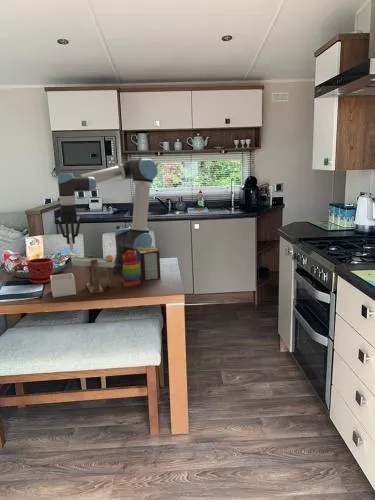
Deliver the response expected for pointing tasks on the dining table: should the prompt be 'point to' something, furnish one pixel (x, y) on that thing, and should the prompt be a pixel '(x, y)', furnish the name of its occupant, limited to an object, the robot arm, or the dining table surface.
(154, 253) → the protein box
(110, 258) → the ball
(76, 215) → the robot arm
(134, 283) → the stacking bear
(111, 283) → the stand
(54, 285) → the grey box
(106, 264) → the lever
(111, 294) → the dining table surface
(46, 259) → the plant pot
